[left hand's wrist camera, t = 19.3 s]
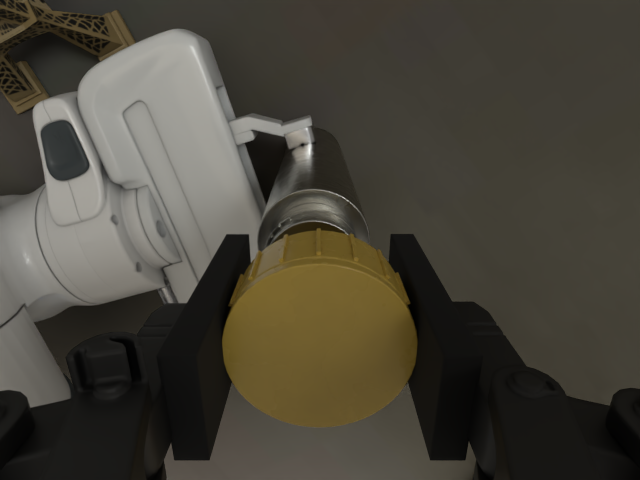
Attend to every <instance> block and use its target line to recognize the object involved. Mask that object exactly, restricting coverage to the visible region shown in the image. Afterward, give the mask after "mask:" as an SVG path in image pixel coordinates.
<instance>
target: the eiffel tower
mask: <svg viewBox="0 0 640 480" xmlns="http://www.w3.org/2000/svg"><path fill="white" fill-rule="evenodd" d="M49 31H50V32H52V33H54V34H56V35H57V36H59V37H61V38H63V39H65V40H67V41H69V42H71V43H73V44H75V45H76V46H78V47H80V48H82V49H84V50H86V51H88V52H90V53H92V54H94V55H95V56H97V57H98V58H99V60H100V61H103V60H104V59H106V58H108V57H110V56H111V55H113V54H115V53H117V52H119V51H121V50H123V49H125V48H127V47H129V46H131V45H133V44H135V43H136V41H135V40H134V38H133V36H132V34H131V33H130V31H129V29H128V27H127V25H126V24H125V22H124V20H123V18H122V16H121V15H120V13H119V11H118V10H115V11H113V12H111V13H109V12H108V13H106V14H105V15H103V16H98V15H88V14H79V13H69V12H60V11H52V10H51V9H50V7H49V6H48V5H47V4H46V3H45V2H44V0H0V90H1V91H2V93H3V94H4V96H5V97H6V98H7V100H8V101H9V103H10V104H11V106H12V107H13V108H14V110H15V111H16V113H17V114H21V113H23V112H25V111H27V110H29V109H31V108H33V107H34V106H35V105H36V104H37V103H39V102H41V101H43V100H45V99H48V98H50V96H49V95H48V93H47V92H46V90H45V89H44V87H43V86H42V84H41V83H40V81H39V80H38V78H37V77H36V75H35V74H34V72H33V71H32V69H31V68H30V66H29V65H28V63H27V62H26V61H19V62H18V63H15V62H14V61H13V59H12V58H11V57H10V56H9V54H8V53H7V52H8V51H9V50H11V49H12V48H13V47H15V46H16V45H18V44H19V43H21V42H23V41H25V40H28V39H30V38H33V37H35V36H38V35H40V34H43V33H46V32H49Z"/></svg>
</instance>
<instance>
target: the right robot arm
mask: <svg viewBox="0 0 640 480" xmlns="http://www.w3.org/2000/svg"><path fill="white" fill-rule="evenodd" d="M33 122H34V127H35V132H36V136H37V140H38V145H39V150H40V155H41V160H42V165H43V171H44V177H45V184H44V185H42V186H41V187H40V188H38V189H37V190H35V191H34V192H32V193H29V194H26V195H5V196H0V391H4V390H13V391H20V392H22V393H23V394H24V395H25V396H26V397H27V399H28V402H29V405H30V408H31V407H36V406H40V405H45V404H50V403H54V402H59V401H63V400H67V399H70V398H73V397H74V395H75V390H74V386H73V384H72V383H71V381H70V380H69V379H68V377H67V376H66V375H65V374H63V373H62V372H61V370H60V368H59V366H58V365H57V363H56V361H55V359H54V357H53V356H52V354H51V352H50V350H49V349H48V347H47V345H46V343H45V342H44V340H43V338H42V336H41V334H40V333H39V331H38V329H37V327H36V326H35V324H34V322H37V321H41V320H45V319H48V318H50V317H53V316H55V315H57V314H59V313H60V312H62V311H63V310H65V309H67V308H68V307H71V306H76V305H82V306H93V305H99V304H104V303H107V302H111V301H115V300H118V299H122V298H126V297H129V296H133V295H137V294H141V293H144V292H148V291H152V290H155V289H156V290H157V292H158V294H159V296H160V298H161V300H162V302H163V304H166V303H187V302H188V300H189V298H190V297H191V295H192V293H193V291H194V290H195V288H196V286H197V284H198V283H199V281H200V279H201V278H202V276H203V274H204V272H205V271H206V269H207V267H208V265H209V264H210V262H211V260H212V258H213V257H214V255H215V253H216V252H217V250H218V248H219V246H220V245H221V243H222V241H223V239H224V238H225V236H226V234H249V242H250V257H251V262H252V261H253V260H254V259H255V256H256V254H257V252H258V248H257V234H258V229H259V226H260V223H261V220H262V217H263V214H264V211H265V208H266V202H265V199H264V196H263V193H262V190H261V188H260V185H259V182H258V179H257V176H256V173H255V171H254V168H253V165H252V162H251V159H250V156H249V154H248V151H247V148H246V145H245V142H249V141H252V140H254V139H255V137H256V136H257V135H258V133H259V132H258V131H261V132H265V133H269V134H274V135H278V136H282V137H284V136H285V139H286V142H287V145H288V148H289V149H293V148H296V147H299V146H300V145H301V144H302V143H304V144H310V143H313V142H315V141H317V137H316V134H315V130H314V126H313V123H312V119H311V116H310V115H309V116H304V117H301V118H297V119H294V120H291V121H287V122H284V123H283V121H281V120H277V119H274V118H270V117H266V116H262V115H258V114H254V113H251V114H248V115H245V116H241V117H238V118H236V117H235V114H234V111H233V108H232V105H231V103H230V100H229V97H228V94H227V91H226V88H225V85H224V83H223V80H222V77H221V74H220V71H219V68H218V66H217V63H216V60H215V57H214V54H213V51H212V49H211V46H210V44H209V42H208V41H207V40H206V39H204V38H203V37H201V36H199V35H197V34H196V33H193V32H191V31H189V30H185V29H172V30H168V31H165V32H162V33H159V34H156V35H154V36H152V37H149V38H147V39H144V40H142V41H140V42H137V43H135V44H133V45H131V46H129V47H127V48H125V49H123V50H121V51H119V52H117V53H115V54H113V55H111V56H110V57H108V58H106V59H104V60H103V61H101V62H99V63H98V64H96V65H95V66H93V67H92V68H91V69H90V70H89V71H88V72H87V73H86V74H85V75H84V77H83V78H82V80H81V82H80V84H79V87H78V91H75V92H68V93H64V94H60V95H56V96H53V97H50V98H48V99H45V100H43V101H41V102H39V103H37V104H36V105H35V106H34V108H33Z"/></svg>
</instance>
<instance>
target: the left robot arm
mask: <svg viewBox="0 0 640 480" xmlns="http://www.w3.org/2000/svg"><path fill="white" fill-rule="evenodd" d="M250 264H251V257H250V242H249V234H226V236H225V238H224V239H223V241H222V243H221V245H220V246H219V248H218V250H217V252H216V253H215V255H214V257H213V258H212V260H211V262H210V264H209V265H208V267H207V269H206V271H205V272H204V274H203V276H202V278H201V279H200V281H199V283H198V284H197V286H196V288H195V290H194V291H193V293H192V295H191V297H190V298H189V300H188V302H187V303H166V304H164V305H163V306H161V307H160V308H159V309H157V310H156V311H154V312H153V313H152V314H151V315H150V316H149V318H148V319H147V321H146V322H145V324H144V327H142V328H141V329H140V331H139V332H138V334H137V336H136V335H135V334H132V333H127V332H110V333H106V334H101V335H97V336H95V337H92V338H90V339H88V340H85V341H83V342H82V343H80V344H79V345H77V346H76V347H74V348H73V349H72V350H71V351H70V352H69V354H68V355H67V356H66V361H67V364H68V368H69V372H70V375H71V379H72V383H73V386H74V390H75V395H74V397H73V398H70V399H67V400H63V401H59V402H54V403H50V404H45V405H40V406H36V407H31V408H30V405H29V402H28V399H27V397H26V396H25V395H24V394H23V393H22V392H20V391H13V390H4V391H0V480H166V478H167V477H166V470H165V465H164V458H165V456H166V453H167V451H168V448H169V446H170V443H171V444H172V449H173V455H174V460H210V457H211V453H212V450H213V446H214V442H215V439H216V435H217V432H218V428H219V425H220V421H221V418H222V414H223V411H224V407H225V404H226V400H227V397H228V393H229V390H230V386H231V383H232V381H231V379H230V377H229V375H228V373H227V370H226V367H225V364H224V358H223V348H222V335H223V329H224V326H225V323H226V320H227V317H228V314H229V312H230V309H231V307H230V306H228V305H229V302H230V300H231V297H232V295H233V292H234V290H235V287H236V285H237V282H238V280H239V277H240V275H241V274H243V275H244V273H245V271H246V269H247V268H248V266H249V265H250ZM389 264H390V265H391V267H392V269H393V270H394V272H395V273H397V272H398V273H399V276H400V278H401V281H402V283H403V286H404V288H405V291H406V293H407V296H408V298H409V301H410V304H409V305H408V307H409V310H410V312H411V315H412V317H413V320H414V323H415V327H416V331H417V338H418V345H417V355H416V363H415V366H414V369H413V372H412V374H411V376H410V378H409V380H408V384H409V387H410V391H411V394H412V398H413V401H414V405H415V408H416V412H417V415H418V419H419V422H420V426H421V429H422V433H423V436H424V440H425V443H426V447H427V450H428V454H429V457H430V460H465V459H466V454H467V448H468V442H470V444H471V447H472V449H473V452H474V454H475V457H476V465H475V470H474V475H473V480H640V389H636V388H628V389H621V390H619V391H618V392H616V393H615V394H614V395H613V398H612V401H611V404H610V406H608V405H603V404H599V403H594V402H589V401H585V400H580V399H576V398H573V397H569V396H566V394H565V392H564V390H563V389H562V387H561V386H560V385H559V383H558V382H556V381H555V380H554V379H552V378H551V377H550V376H549V375H547V374H545V373H543V372H541V371H538V370H536V369H534V368H530V367H527V366H526V365H525V364H524V362H523V361H522V359H521V358H520V356H519V355H518V354H517V352H516V351H515V349H514V348H513V346H512V345H511V344H510V342H509V341H508V339H507V338H506V336H503V332H502V331H501V329H500V328H499V327H498V326H496V322H495V321H494V319H493V318H492V317H491V315H490V314H489V312H488V311H486V310H485V309H483V308H482V307H480V306H479V305H478V304H476V303H475V302H452V301H451V299H450V297H449V295H448V294H447V292H446V290H445V288H444V287H443V285H442V283H441V281H440V280H439V278H438V276H437V275H436V273H435V271H434V269H433V268H432V266H431V264H430V262H429V261H428V259H427V257H426V255H425V254H424V252H423V250H422V249H421V247H420V245H419V243H418V242H417V240H416V238H415V236H414V235H413V234H391V238H390V253H389Z"/></svg>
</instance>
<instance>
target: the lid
mask: <svg viewBox="0 0 640 480" xmlns="http://www.w3.org/2000/svg"><path fill="white" fill-rule="evenodd" d="M409 304H410V301H409V298H408V296H407V293H406V291H405V288H404V286H403V283H402V281H401V278H400V276H399V273H398V272H397V273H395V272H394V270H393V269H392V267H391V265H390V264H389V263H388V261H387V260H386V259H385V258H384V257H383V255H382V252H381V250H379V249H378V250H376V249H374V248H373V247H371V246H370V245H368V244H367V243H365V242H364V241H361V240H359V239H357V238H355V237H354V234H351V233H350V235H347V234H343V233H338V232H333V231H321V228H317V231H307V232H301V233H297V234H293V235H290V236H288V234H286V235H284V237H283V238H282V239H280V240H278V241H276V242H274V243H273V244H271V245H270V246H268V247H267V248H265V249H264V250H263V251H262V252H261V251H260V250H259V251H258V252H257V254H256V256H255V259H254V260H253V261H252V262H251V264H250V265H249V266H248V268H247V269H246V271H245V273H244V275H243V274H241V275H240V277H239V280H238V282H237V285H236V287H235V290H234V292H233V295H232V297H231V300H230V302H229V305H228V306H230V307H231V309H230V312H229V314H228V317H227V320H226V323H225V326H224V329H223V335H222V348H223V358H224V364H225V367H226V370H227V373H228V375H229V377H230V379H231V381H232V383H233V384H234V386H235V387H236V388H237V390H238V391H239V392H240V393H241V394H242V396H243V397H244V398H245V399H246V400H247V401H249V402H250V403H251V404H252V405H253V406H255V407H256V408H257V409H259V410H260V411H262V412H264V413H265V414H267V415H269V416H271V417H273V418H276V419H278V420H281V421H283V422H287V423H291V424H294V425H300V426H306V427H333V426H340V425H345V424H349V423H353V422H356V421H359V420H361V419H364V418H366V417H368V416H370V415H372V414H374V413H376V412H377V411H379V410H381V409H382V408H384V407H385V406H386V405H387V404H389V403H390V402H391V401H392V400H393V399H394V398H395V397H396V396H397V395H398V394H399V393H400V392H401V391H402V389H403V388H404V386H405V385H406V384H407V382H408V380H409V378H410V376H411V374H412V372H413V369H414V366H415V363H416V355H417V345H418V338H417V331H416V327H415V323H414V320H413V317H412V315H411V312H410V310H409V307H408V305H409Z"/></svg>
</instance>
